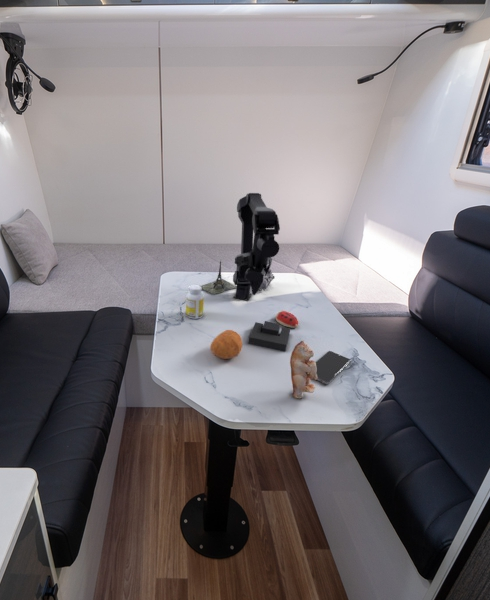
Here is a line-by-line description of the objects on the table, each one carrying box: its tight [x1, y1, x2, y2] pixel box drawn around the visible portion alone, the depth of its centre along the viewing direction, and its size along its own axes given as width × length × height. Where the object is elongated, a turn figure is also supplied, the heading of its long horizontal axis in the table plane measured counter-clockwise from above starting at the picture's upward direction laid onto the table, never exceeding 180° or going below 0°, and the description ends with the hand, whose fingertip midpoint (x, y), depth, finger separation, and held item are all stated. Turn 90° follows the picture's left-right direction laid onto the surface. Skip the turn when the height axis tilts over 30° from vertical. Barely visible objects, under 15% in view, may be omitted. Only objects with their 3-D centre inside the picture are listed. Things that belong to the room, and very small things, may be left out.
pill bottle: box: [185, 284, 205, 320], centre depth 138 cm, size 6×6×12 cm
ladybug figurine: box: [275, 310, 299, 329], centre depth 135 cm, size 7×10×4 cm
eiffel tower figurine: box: [200, 260, 237, 295], centre depth 161 cm, size 15×10×13 cm
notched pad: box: [247, 321, 291, 352], centre depth 125 cm, size 11×12×2 cm
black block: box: [262, 320, 281, 336], centre depth 127 cm, size 5×5×4 cm
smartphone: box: [314, 350, 352, 385], centre depth 111 cm, size 7×1×16 cm
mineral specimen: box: [258, 268, 276, 291], centre depth 164 cm, size 12×9×10 cm
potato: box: [210, 329, 243, 360], centre depth 115 cm, size 9×11×8 cm
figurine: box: [289, 340, 317, 399], centre depth 98 cm, size 6×8×15 cm
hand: (256, 289), depth 133 cm, fingers open, 9 cm apart
